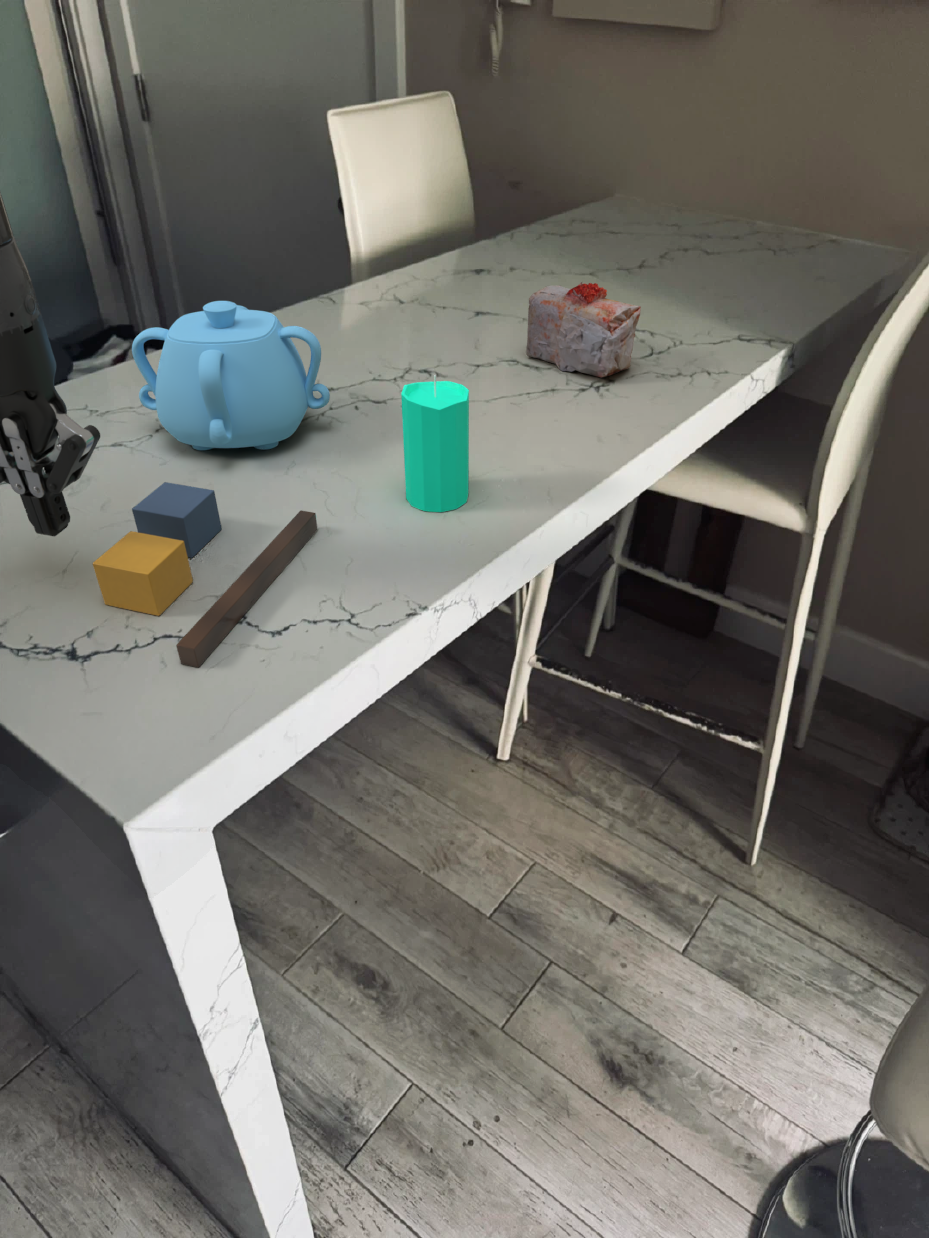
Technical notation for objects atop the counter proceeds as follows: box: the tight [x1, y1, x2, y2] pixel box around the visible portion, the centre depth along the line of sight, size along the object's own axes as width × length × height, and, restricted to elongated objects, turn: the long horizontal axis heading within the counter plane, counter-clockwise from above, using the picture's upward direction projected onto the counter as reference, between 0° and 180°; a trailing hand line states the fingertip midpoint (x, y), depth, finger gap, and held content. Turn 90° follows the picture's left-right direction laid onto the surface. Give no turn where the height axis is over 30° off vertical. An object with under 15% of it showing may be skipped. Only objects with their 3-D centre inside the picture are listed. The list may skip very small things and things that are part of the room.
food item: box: [525, 281, 642, 379], centre depth 107 cm, size 14×8×10 cm, turn 50°
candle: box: [400, 374, 470, 513], centre depth 79 cm, size 6×6×12 cm
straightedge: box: [176, 509, 318, 669], centre depth 70 cm, size 20×2×2 cm, turn 162°
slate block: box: [131, 481, 223, 559], centre depth 76 cm, size 5×5×4 cm
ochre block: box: [92, 530, 194, 617], centre depth 69 cm, size 5×5×4 cm
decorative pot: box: [131, 300, 331, 451], centre depth 90 cm, size 16×16×14 cm
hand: (53, 530), depth 70 cm, fingers closed
